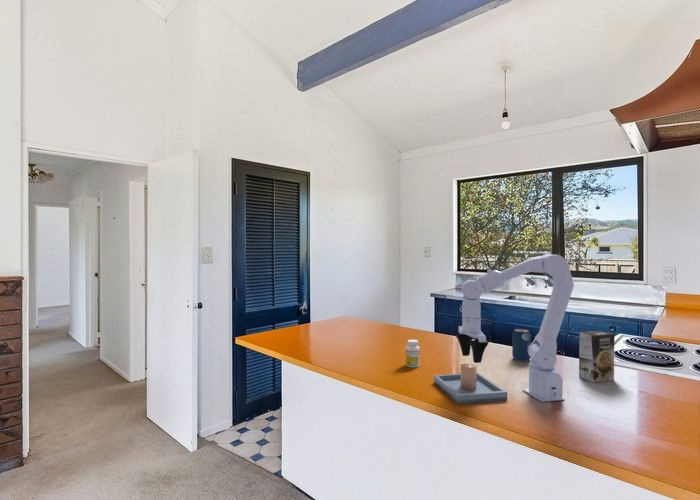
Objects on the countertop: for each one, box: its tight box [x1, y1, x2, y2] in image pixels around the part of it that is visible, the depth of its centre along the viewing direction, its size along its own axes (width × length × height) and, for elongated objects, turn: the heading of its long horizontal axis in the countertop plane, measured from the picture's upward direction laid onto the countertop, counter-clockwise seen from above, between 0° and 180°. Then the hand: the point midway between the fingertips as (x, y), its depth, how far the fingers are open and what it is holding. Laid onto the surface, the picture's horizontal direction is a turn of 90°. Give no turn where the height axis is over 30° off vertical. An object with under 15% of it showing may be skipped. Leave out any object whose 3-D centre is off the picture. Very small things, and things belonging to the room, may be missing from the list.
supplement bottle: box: [405, 339, 421, 368], centre depth 150 cm, size 5×5×10 cm
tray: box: [433, 371, 508, 405], centre depth 124 cm, size 18×16×2 cm
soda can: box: [511, 328, 532, 363], centre depth 157 cm, size 7×7×12 cm
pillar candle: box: [459, 363, 478, 391], centre depth 124 cm, size 5×5×7 cm
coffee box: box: [578, 330, 615, 384], centre depth 135 cm, size 9×6×16 cm
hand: (471, 358), depth 126 cm, fingers open, 7 cm apart
